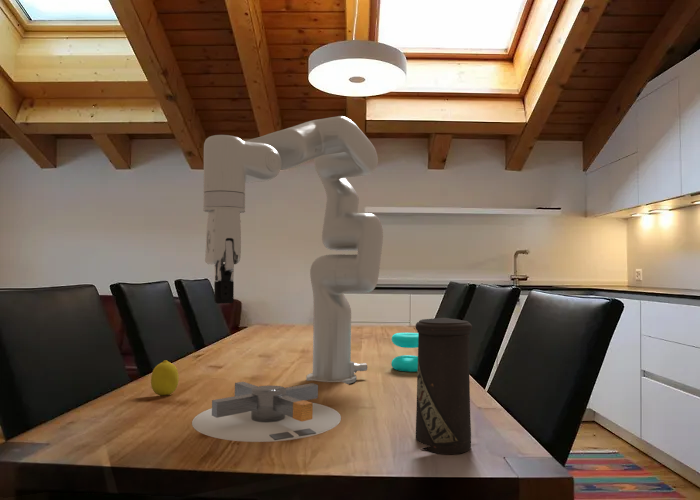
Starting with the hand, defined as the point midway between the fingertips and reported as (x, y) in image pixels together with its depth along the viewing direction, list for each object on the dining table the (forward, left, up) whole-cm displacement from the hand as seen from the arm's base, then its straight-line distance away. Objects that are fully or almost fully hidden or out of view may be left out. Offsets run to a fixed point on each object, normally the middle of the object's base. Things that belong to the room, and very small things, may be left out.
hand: (223, 302), depth 93 cm
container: (-27, +30, -21) cm, 46 cm away
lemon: (+6, -21, -21) cm, 30 cm away
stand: (-7, +6, -21) cm, 23 cm away
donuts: (-61, -25, -21) cm, 69 cm away
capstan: (-7, +6, -20) cm, 22 cm away
